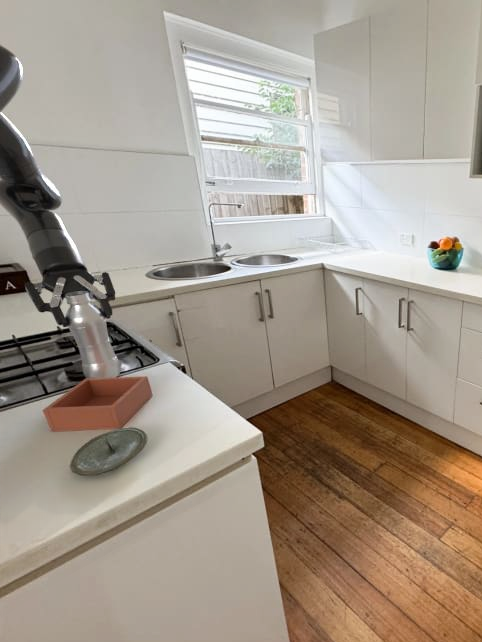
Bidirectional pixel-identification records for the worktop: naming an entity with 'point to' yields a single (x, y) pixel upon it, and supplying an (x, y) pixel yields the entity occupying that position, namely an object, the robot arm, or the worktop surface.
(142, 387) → the caddy
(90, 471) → the lid
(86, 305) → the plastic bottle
